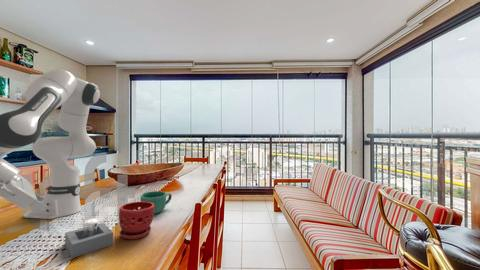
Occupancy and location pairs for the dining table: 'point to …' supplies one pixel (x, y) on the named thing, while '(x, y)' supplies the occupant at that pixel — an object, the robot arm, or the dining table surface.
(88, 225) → the milkshake
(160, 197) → the mug
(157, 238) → the dining table surface
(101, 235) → the socket collar
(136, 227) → the plant pot
